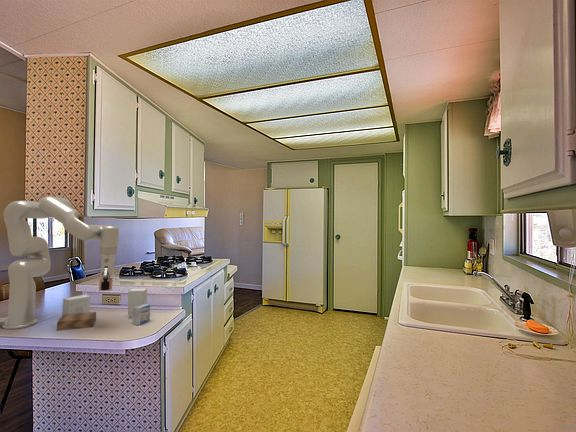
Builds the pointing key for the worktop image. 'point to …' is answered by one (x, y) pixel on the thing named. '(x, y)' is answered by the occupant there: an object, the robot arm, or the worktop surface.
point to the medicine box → (141, 314)
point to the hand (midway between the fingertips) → (105, 288)
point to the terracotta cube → (109, 284)
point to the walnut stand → (76, 321)
